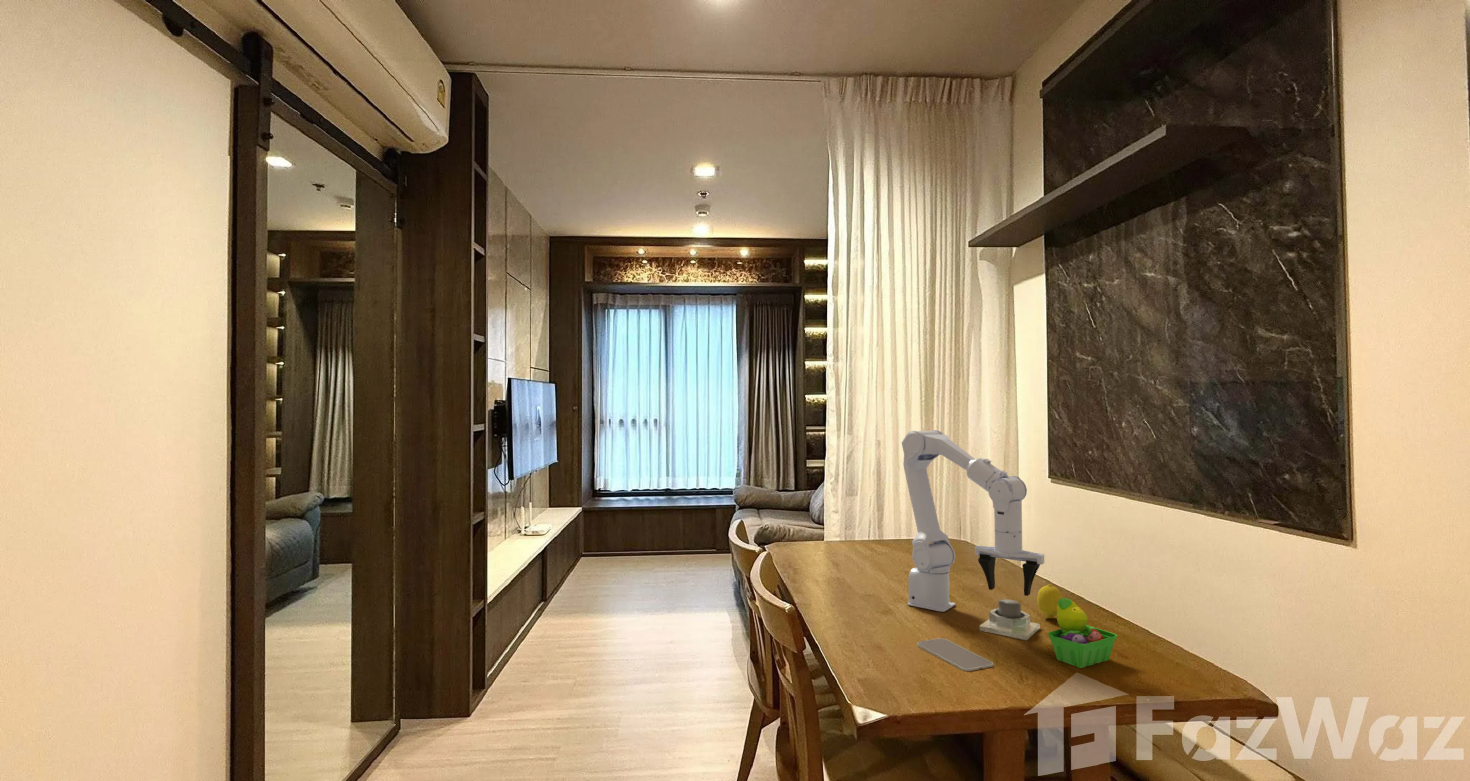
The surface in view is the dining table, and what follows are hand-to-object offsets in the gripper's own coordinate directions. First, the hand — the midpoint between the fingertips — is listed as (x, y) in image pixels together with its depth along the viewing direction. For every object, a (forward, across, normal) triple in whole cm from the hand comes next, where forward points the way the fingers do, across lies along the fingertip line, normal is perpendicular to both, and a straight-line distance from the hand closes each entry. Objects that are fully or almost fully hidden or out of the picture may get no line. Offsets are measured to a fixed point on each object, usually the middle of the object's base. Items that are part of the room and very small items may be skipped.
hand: (1009, 591), depth 145 cm
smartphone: (+9, -4, -23) cm, 25 cm away
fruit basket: (+9, +16, -9) cm, 20 cm away
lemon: (+9, +5, +14) cm, 17 cm away
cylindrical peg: (+7, 0, 0) cm, 7 cm away
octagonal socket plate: (+8, 0, 0) cm, 8 cm away
